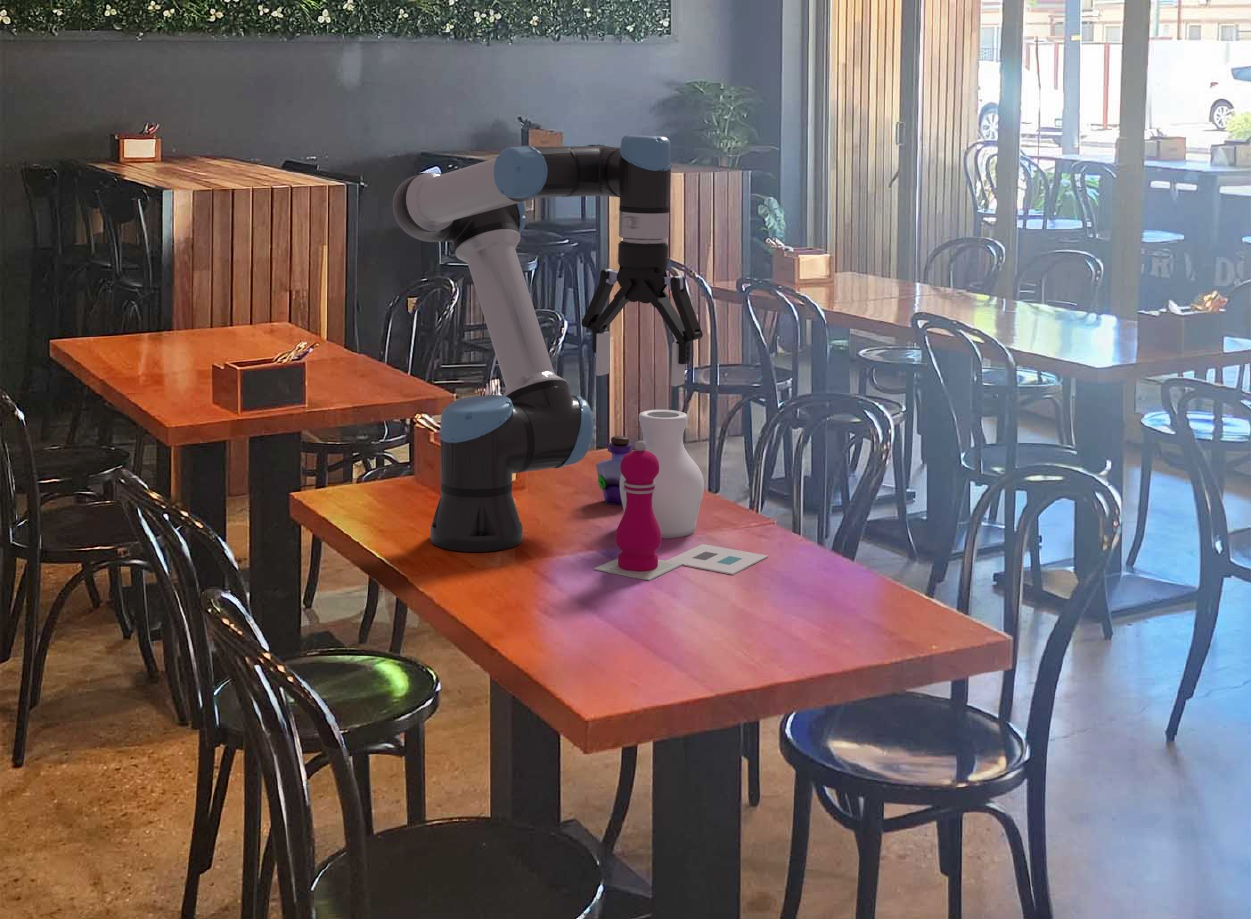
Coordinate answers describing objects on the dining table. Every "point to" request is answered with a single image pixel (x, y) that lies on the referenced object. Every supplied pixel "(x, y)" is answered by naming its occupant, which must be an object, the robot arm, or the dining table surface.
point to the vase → (671, 473)
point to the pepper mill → (639, 512)
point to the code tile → (717, 559)
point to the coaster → (645, 575)
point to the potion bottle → (613, 470)
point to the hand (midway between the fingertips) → (639, 379)
